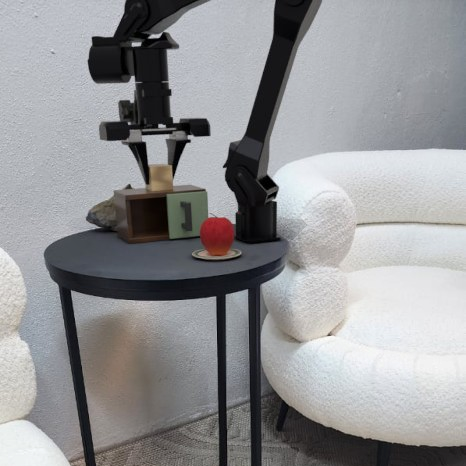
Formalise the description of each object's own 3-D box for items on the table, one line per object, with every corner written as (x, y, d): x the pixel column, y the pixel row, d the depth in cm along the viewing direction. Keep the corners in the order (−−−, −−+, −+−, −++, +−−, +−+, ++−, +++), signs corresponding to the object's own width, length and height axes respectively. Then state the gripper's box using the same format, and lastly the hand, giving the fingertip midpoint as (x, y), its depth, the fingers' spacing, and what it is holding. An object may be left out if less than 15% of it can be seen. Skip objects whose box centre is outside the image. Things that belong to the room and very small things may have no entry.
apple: (193, 252, 115) (191, 210, 112) (241, 251, 115) (240, 209, 111) (190, 262, 108) (188, 218, 105) (241, 261, 108) (240, 217, 105)
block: (166, 187, 126) (164, 163, 124) (173, 190, 123) (171, 165, 121) (145, 189, 125) (143, 165, 123) (152, 191, 122) (150, 166, 120)
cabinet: (192, 229, 134) (190, 184, 130) (207, 235, 128) (205, 188, 123) (118, 236, 129) (113, 190, 125) (129, 243, 123) (125, 195, 118)
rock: (136, 217, 140) (141, 182, 131) (143, 242, 139) (149, 208, 130) (81, 221, 137) (82, 185, 128) (88, 247, 136) (89, 213, 126)
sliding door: (207, 234, 127) (206, 191, 123) (216, 238, 124) (214, 193, 120) (169, 238, 125) (166, 194, 121) (176, 242, 121) (173, 196, 118)
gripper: (187, 82, 125) (191, 176, 133) (86, 84, 119) (97, 182, 127) (210, 81, 116) (213, 181, 124) (102, 83, 110) (113, 189, 118)
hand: (159, 183), depth 124 cm, fingers closed on block, 4 cm apart
